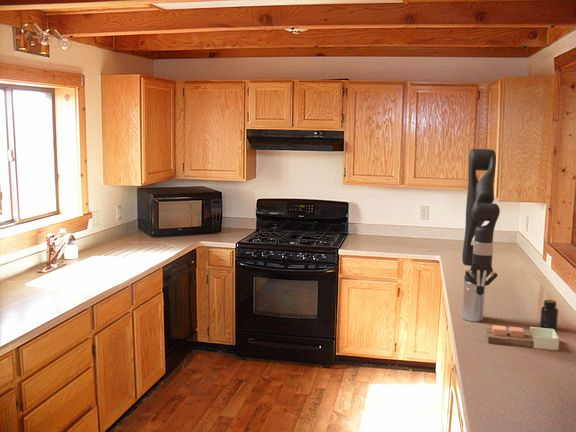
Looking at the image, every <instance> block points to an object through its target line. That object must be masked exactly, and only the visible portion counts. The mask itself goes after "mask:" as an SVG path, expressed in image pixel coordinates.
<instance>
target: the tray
mask: <svg viewBox="0 0 576 432" xmlns="http://www.w3.org/2000/svg"><path fill="white" fill-rule="evenodd" d="M529 332H530V333H531V336H532V338H533V340H534V347H533V349H539V350H549V351H559V348H560V337H559V336H558V334H557V333H556V330H554V329H548V328H541V327H534V326H530V327H529Z"/></svg>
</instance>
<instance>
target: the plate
mask: <svg viewBox="0 0 576 432" xmlns="http://www.w3.org/2000/svg"><path fill="white" fill-rule="evenodd" d="M506 330H507V329H506ZM485 334H486V339H487V343H488V344H494V345H504V346H512V347H513V346H514V347H525V348H533V347H534V340H533V338H532V336H531V333H530V331H529V332H528V331H524V338H518V337H510V334H509V329H508V330H507V333H506V336H497V335H493V332H492V328H487V327H486V331H485ZM533 349H534V348H533Z"/></svg>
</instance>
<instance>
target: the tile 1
mask: <svg viewBox="0 0 576 432" xmlns="http://www.w3.org/2000/svg"><path fill="white" fill-rule="evenodd" d="M491 329H492V332H493V335H497V336H506V333H507V327H506V326H505V325H504V326H503V325H494V324H493V325H492V328H491Z"/></svg>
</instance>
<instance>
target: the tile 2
mask: <svg viewBox="0 0 576 432" xmlns="http://www.w3.org/2000/svg"><path fill="white" fill-rule="evenodd" d="M508 330H509V334H510V337H518V338H524V332H525V331H524V328H523V327H518V326H509V328H508Z"/></svg>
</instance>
